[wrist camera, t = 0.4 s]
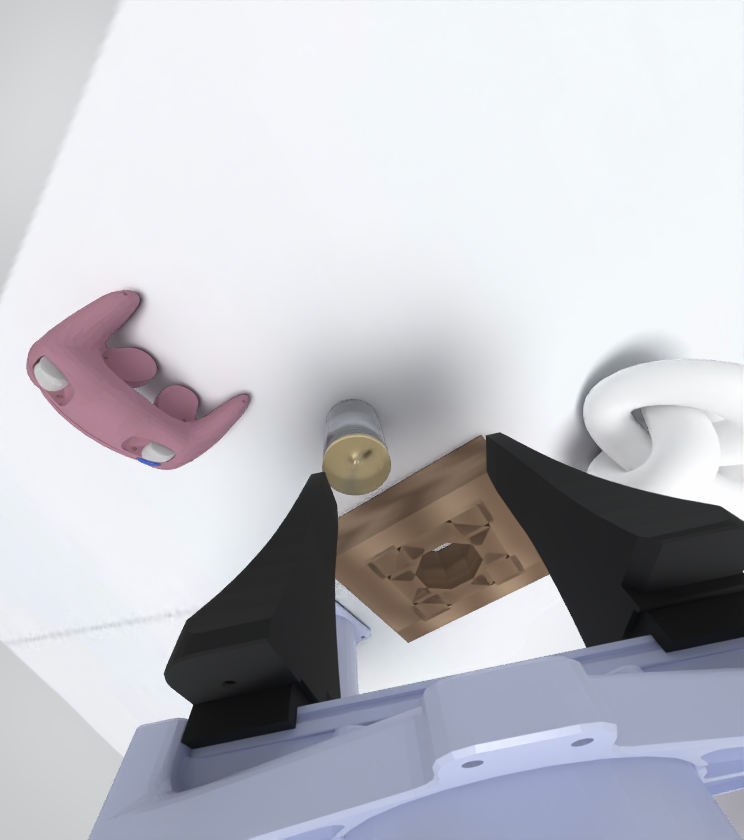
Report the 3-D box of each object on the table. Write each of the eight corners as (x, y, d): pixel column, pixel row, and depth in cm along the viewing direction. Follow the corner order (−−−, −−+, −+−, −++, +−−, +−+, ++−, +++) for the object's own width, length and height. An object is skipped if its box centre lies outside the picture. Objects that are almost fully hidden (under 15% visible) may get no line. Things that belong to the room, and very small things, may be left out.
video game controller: (110, 319, 19) (-20, 376, 14) (129, 276, 17) (-23, 327, 12) (230, 422, 23) (161, 495, 18) (261, 400, 21) (190, 478, 15)
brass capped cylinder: (345, 454, 24) (348, 505, 18) (315, 418, 22) (307, 461, 17) (387, 428, 23) (403, 473, 18) (359, 389, 21) (366, 424, 16)
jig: (400, 602, 32) (408, 642, 29) (323, 527, 27) (320, 565, 23) (534, 534, 30) (561, 568, 26) (480, 435, 24) (505, 461, 21)
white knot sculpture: (593, 498, 29) (693, 583, 21) (518, 435, 25) (606, 510, 17) (700, 413, 26) (867, 472, 18) (635, 325, 22) (812, 349, 14)
